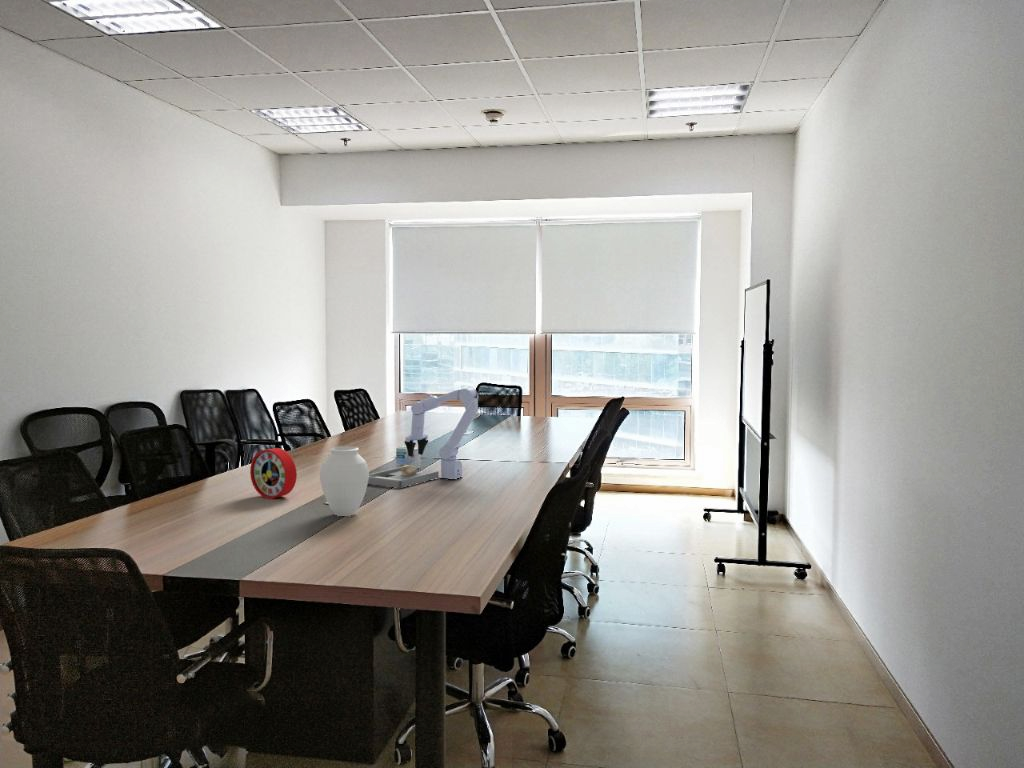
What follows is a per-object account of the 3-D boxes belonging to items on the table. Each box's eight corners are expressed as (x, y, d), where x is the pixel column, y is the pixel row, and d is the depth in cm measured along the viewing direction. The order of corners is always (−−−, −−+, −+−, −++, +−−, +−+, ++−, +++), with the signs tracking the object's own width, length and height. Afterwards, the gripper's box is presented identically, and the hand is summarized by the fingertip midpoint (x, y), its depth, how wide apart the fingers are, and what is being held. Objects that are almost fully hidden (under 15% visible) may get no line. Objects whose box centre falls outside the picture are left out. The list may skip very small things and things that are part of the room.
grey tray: (438, 478, 359) (438, 471, 359) (400, 488, 335) (400, 480, 335) (401, 474, 370) (401, 466, 370) (361, 483, 346) (361, 475, 346)
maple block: (416, 474, 358) (416, 465, 358) (409, 476, 354) (409, 467, 354) (408, 473, 361) (408, 465, 361) (401, 475, 357) (401, 466, 356)
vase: (321, 521, 276) (320, 452, 275) (319, 510, 293) (319, 445, 292) (371, 518, 281) (370, 450, 279) (367, 507, 298) (366, 443, 296)
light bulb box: (395, 469, 384) (395, 447, 383) (401, 466, 390) (401, 445, 390) (415, 470, 381) (415, 448, 380) (420, 468, 387) (420, 446, 387)
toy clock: (250, 496, 319) (249, 448, 318) (261, 493, 324) (260, 446, 323) (286, 501, 310) (285, 451, 308) (297, 498, 315) (296, 449, 313)
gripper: (420, 424, 371) (418, 452, 373) (401, 426, 359) (399, 455, 360) (432, 426, 368) (429, 454, 369) (413, 429, 355) (410, 458, 357)
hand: (415, 455), depth 364 cm, fingers open, 7 cm apart
